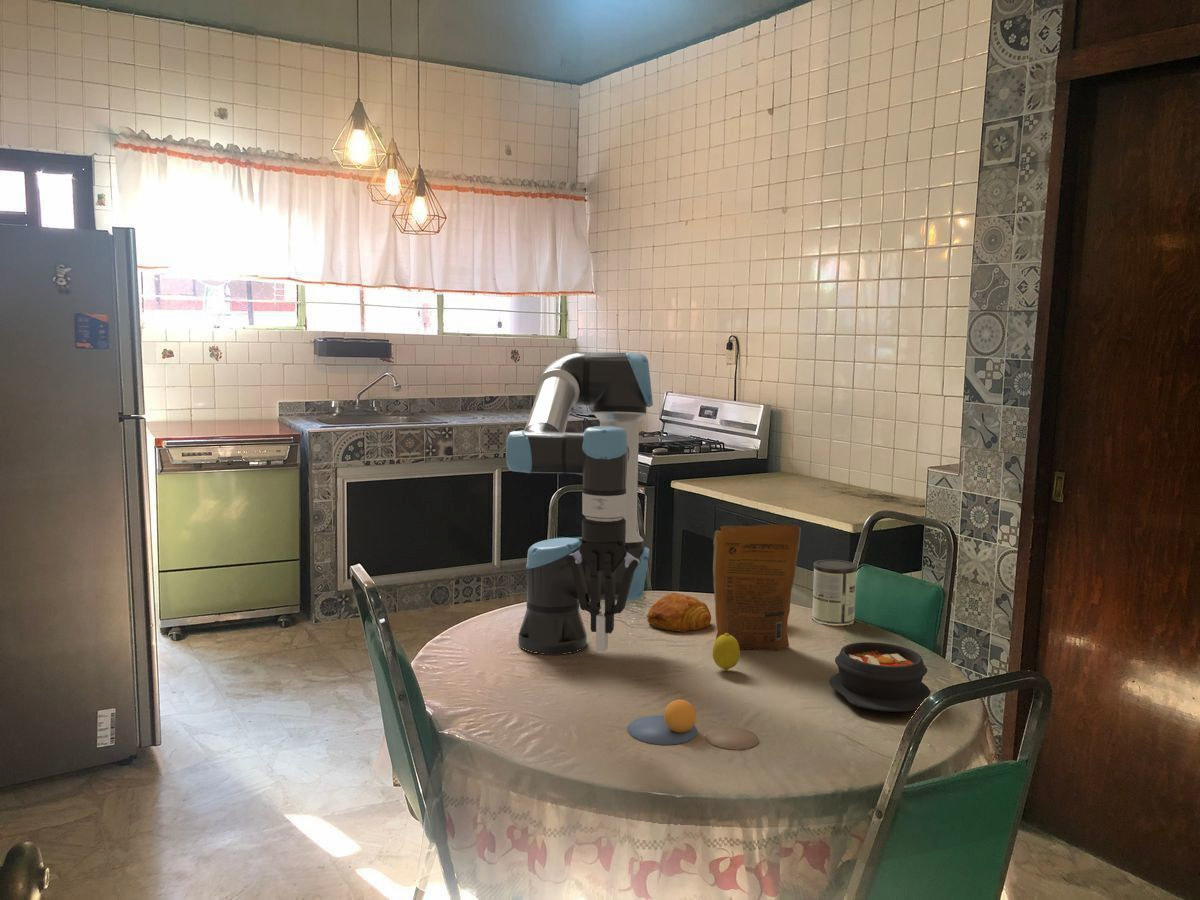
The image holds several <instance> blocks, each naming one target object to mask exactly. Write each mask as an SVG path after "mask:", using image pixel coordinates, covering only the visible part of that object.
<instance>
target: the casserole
mask: <svg viewBox="0 0 1200 900" xmlns="http://www.w3.org/2000/svg"><path fill="white" fill-rule="evenodd" d="M834 662H835V665H836V666H837V667H838V672H837V673H835V674H834V675H832V676H831V677H830V678H829V685H830V686H831V688H832V689H833V690H835V691H836V692H838V693H839V694H840V695H842V696H843V697H844V698H845V699H846V700H847V702H849V703H850V704H851V705H853V706H854V707H855V706H856V707H858V708H862V709H867V710H872V711H878V712H884V713H885V712H886V713H887V712H889V713H905V712H906V713H907V712H908V713H909V712H913V711H916V710H917V708H918V707H919V706H920V705H921V704H922V703H923V702H924V701H923V700H924V699H925V698H927V697H928V696H929V695H930V694H932V693H931V689H930V688H929V687H928V685H926V684H925V683H924V682H923V678H924V677H925V675H926V674H927V673H928V668H927V666H926V664H924V660H923V657H922V656H921V654H920V653H918V652H916V651H914V650H912V649H909V648H907V647H904V646H901V645H895V644H892V643H891V644H890V643H886V642H885V643H883V642H876V641H875V642H871V641H869V642H864V641H863V642H854V643H848V644H845V645H844V646H842V648H841V649H840V651H839V653H838V655H837V656H835V658H834ZM930 696H931V695H930ZM930 696H929V697H930ZM922 701H923V702H922Z"/></svg>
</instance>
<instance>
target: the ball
mask: <svg viewBox="0 0 1200 900" xmlns="http://www.w3.org/2000/svg"><path fill="white" fill-rule="evenodd" d="M663 716H664V719H665V723H666V725H667V726H668V727H669V728H670V729H671V730H672V731H674V732H677V733H684V732H687V731H689V730H690V729H691V728H692V727H693V726H695V723H696V721H697V712H696V709H695V708H694V706H693V705H692V704H691V702H689V701H687V700H684V699H675V700H673V701H671V702H669V703H668V704H667V706H666V707H665V709H664V712H663Z"/></svg>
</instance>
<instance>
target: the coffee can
mask: <svg viewBox="0 0 1200 900" xmlns="http://www.w3.org/2000/svg"><path fill="white" fill-rule="evenodd" d="M857 570H858V565H857V564H856V563H854V562H851V561H848V560H841V559H819V560H815V561H814V562H813V584H812V585H813V586H812V588H813V589H812V610H811V611H812V613H811V619H812V618H813V619H814V620H816V621H819V622H822V623H827V624H850V623H852V622H853V621H855V614H856V613H855V612H856V590H857V589H856V588H857V587H856V585H857V584H856V583H857Z"/></svg>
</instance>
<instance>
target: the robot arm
mask: <svg viewBox="0 0 1200 900" xmlns="http://www.w3.org/2000/svg"><path fill="white" fill-rule="evenodd" d="M648 359H649V358H647V356H646V355H644V354H642V353H635V352H626V351H625V352H591V351H590V352H586V351H577V352H572V353H569V354H565V355H563V356H561V357H558V358H557V359H556V360H553V362H551V363H549V364H548V365H547V366H546V367H545V368H544V369H543V370H542V371H541V372H540V373H539V375H538V376H537V379H536V381H535V383H534V384H535V385H534V396H535V398H534V402H533V404H532V408H531V411H530V413H529V416H528V419H527V422H526V425H525V427H524V429H520V430H514V431H510V432H509V433H508V435H507V437H506V442H505V460H506V461H505V462H506V466H507V468H508V470H509V471H512V472H518V473H526V474H576V475H582V493H581V494H582V497H581V498H582V500H581V501H582V504H581V505H582V506H581V507H582V512H581V513H582V515H583V516H584V517H583V518H582V519H581V541H580V539H579V538H577V537H556V538H555V537H554V538H549V539H544V540H541V541H538V542H535V543H534V544H532V545H531V546H530V547H529V548H528V550H527V555H526V557H527V558H526V565H525V568H526V609H525V614H524V617H523V620H522V623H521V626H520V630H519V632H518V643H519V644H518V646H519V645H520V646H521V647H522V648H524V649H526V650H529V651H532V652H531V653H533V652H537V653H536V654H538V653H544V654H543V655H565V654H564V653H567V654H570V653H569V652H572V653H575V652H574V651H576V652H578V651H577V650H579V651H581V650H583V649H585V647H586V646H587V645H588V641H587V640H588V639H587V637H588V636H587V635H588V634H587V631H586V628H585V625H584V624H585V623H584V621H583V617H582V615H581V612H580V611H581V610H582V611H586V612H588V613H589V615H590V631H591V633H595V653H600V654H605V653H606V651H607V650H608V649H609V634H612V633H613V632H614V628H615V615H616V614H621V613H622V612H623V610H624V609H625V607H626V604H627V602H630V601H631V602H632V601H637V600H640V599H642V597H643V594H644V588H645V582H646V577H647V569H648V563H649V556H650V551H651V550H650V548H648V547H647V546H644V538H642V536H641V535H640V534H639V533H638V531H637V529H638V525H637V522H638V487H639V486H638V483H639V480H638V478H639V437H640V436H639V435H640V433H639V432H640V423H641V421H642V420H643V419H644V418H645V417H646V415H647V408H650V407H652V406H654V401H653V393H652V383H651V373H650V365H649V364H650V363H649V360H648ZM574 406H593V412H592V413H593V416H595V417H596V418H597V419H598V421H599V425H598V426H589V427H587V428H585V429H584V432H577V431H576V432H573V431H569V432H568V431H566V429H567V426H568V422H569V418H570V414H571V409H572V408H573V407H574ZM601 601H604V611H601V609H602V606H601ZM586 644H587V645H586ZM520 646H519V647H520ZM521 647H520V648H521ZM522 648H521V649H522ZM582 648H583V649H582ZM524 649H523V650H524ZM580 649H581V650H580ZM526 650H525V651H526ZM529 651H528V652H529Z"/></svg>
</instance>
